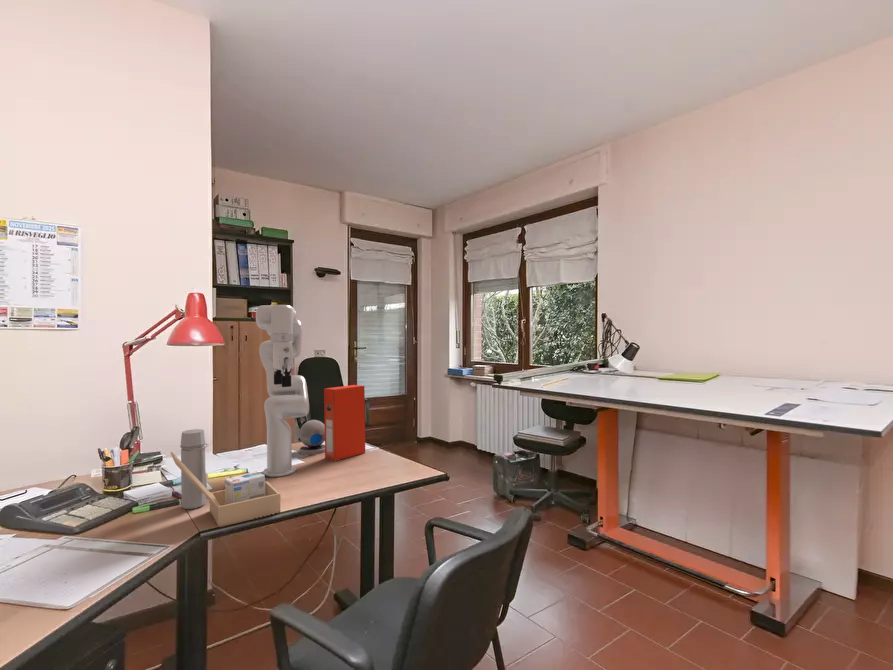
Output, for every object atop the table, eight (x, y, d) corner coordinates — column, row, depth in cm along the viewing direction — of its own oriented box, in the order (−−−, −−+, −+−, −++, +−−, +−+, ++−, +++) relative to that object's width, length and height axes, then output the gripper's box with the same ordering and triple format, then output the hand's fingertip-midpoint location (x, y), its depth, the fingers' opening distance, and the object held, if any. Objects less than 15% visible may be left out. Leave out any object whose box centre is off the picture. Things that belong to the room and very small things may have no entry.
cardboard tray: (209, 511, 146) (209, 492, 146) (267, 498, 157) (267, 481, 157) (218, 527, 134) (218, 507, 134) (280, 512, 145) (280, 493, 145)
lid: (209, 491, 146) (207, 493, 146) (171, 451, 140) (170, 453, 139) (218, 506, 134) (216, 507, 134) (177, 462, 128) (175, 464, 127)
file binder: (324, 458, 206) (324, 388, 206) (354, 450, 220) (353, 384, 219) (335, 461, 201) (335, 389, 201) (365, 453, 215) (364, 385, 214)
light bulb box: (257, 502, 152) (257, 470, 151) (266, 507, 147) (266, 474, 147) (224, 511, 144) (223, 478, 144) (232, 517, 139) (232, 483, 139)
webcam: (323, 446, 228) (323, 416, 228) (330, 452, 217) (330, 421, 216) (297, 449, 221) (296, 419, 221) (302, 456, 210) (302, 423, 210)
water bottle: (175, 508, 148) (174, 432, 148) (196, 500, 156) (195, 428, 155) (195, 512, 145) (194, 435, 145) (216, 503, 152) (215, 429, 152)
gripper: (300, 338, 160) (300, 387, 160) (285, 338, 174) (285, 382, 174) (278, 339, 156) (278, 388, 156) (264, 338, 169) (265, 384, 170)
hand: (282, 385), depth 165 cm, fingers open, 9 cm apart
